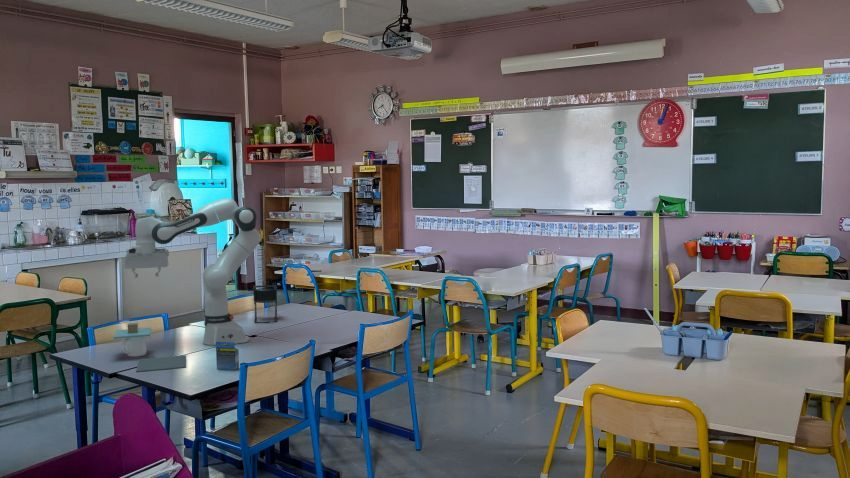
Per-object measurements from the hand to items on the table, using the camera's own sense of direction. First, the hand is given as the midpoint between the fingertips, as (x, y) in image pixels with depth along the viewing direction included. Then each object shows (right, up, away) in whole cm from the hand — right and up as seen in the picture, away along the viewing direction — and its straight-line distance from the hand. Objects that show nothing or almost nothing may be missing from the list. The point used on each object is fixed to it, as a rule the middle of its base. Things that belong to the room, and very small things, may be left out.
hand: (146, 276), depth 324 cm
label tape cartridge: (+51, -38, -39) cm, 75 cm away
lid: (+1, -26, -18) cm, 31 cm away
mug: (+1, -36, -17) cm, 40 cm away
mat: (+20, -37, -31) cm, 52 cm away
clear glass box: (+44, -29, +61) cm, 81 cm away
